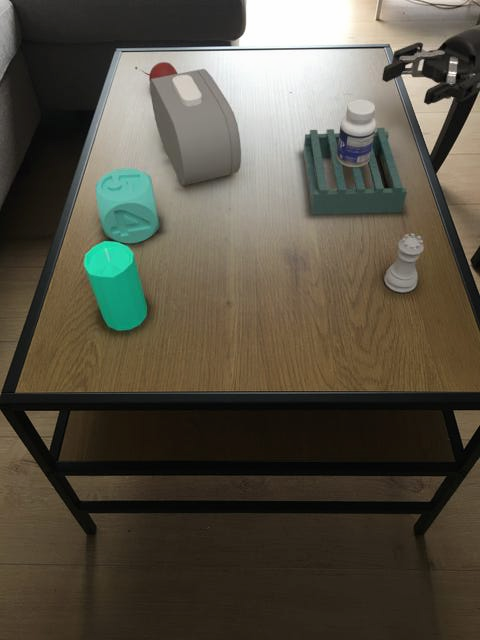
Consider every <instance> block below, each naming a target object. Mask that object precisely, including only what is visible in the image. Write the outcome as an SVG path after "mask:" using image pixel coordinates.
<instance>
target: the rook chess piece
mask: <svg viewBox="0 0 480 640" xmlns="http://www.w3.org/2000/svg"><path fill="white" fill-rule="evenodd" d="M415 235H416V234H415V233H410V235H409V233H407V234H404V236H403V237H402V238H401V239H399V241H398V243H397V247H398V248H399V249H398V250H397V257H396V260H395V262H393V263H392V265H390V266H389V267H388V268H387V269H386V271H385V274H384V279H383V281H384V282H385V285H386V286H387V287H388V288H389V289H390V290H391V291H393V292H396V293H399V294H400V293H401V294H403V293H408V292H409V293H410V292H411V291H412V290H415V288H416V286H417V284H418V279H419V276H418V275H419V273H418V272H417V268H416V266H417V265H416V264H417V261H418V259H419V258H420V254H421V253H423V251H424V250H425V245H424V242H423V241H424V240H423V239H422V236H420V235H417V236H415Z"/></svg>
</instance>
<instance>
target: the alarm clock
mask: <svg viewBox="0 0 480 640" xmlns="http://www.w3.org/2000/svg"><path fill="white" fill-rule="evenodd" d="M149 91H150V99H151V104H152V110H153V115H154V120H155V124H156V128H157V131H158V135H159V138H160V141H161V143H162V146H163V148H164V151H165V152H166V155H167V157H168V159H169V161H170V164H171V165H172V168H173V170H174V172H175V174H176V177H177V178H178V180H179V182H180V184H181V185H182V186H187V185H192V184H197V183H200V182H204V181H208V180H212V179H216V178H222V177H225V176H229V175H233V174H237V173H238V172H239V171H240V168H241V165H242V146H241V137H240V130H239V126H238V122H237V119H236V116H235V112H234V110H233V109H232V107H231V105H230V103H229V102H228V99H227V98H226V97H225V95H224V94H223V92H222V90H221V89H220V87H219V86H218V84H217V83H216V81H215V79H214V78H213V76H212V75H211V74H210V73H209V72H208V70H206V69H205V68H201V69H195V70H190V71H184V72H181V73H178V74H174V75H169V76H164V77H159V78H154V79H151V80H150V81H149Z"/></svg>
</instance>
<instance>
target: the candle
mask: <svg viewBox="0 0 480 640" xmlns="http://www.w3.org/2000/svg"><path fill="white" fill-rule="evenodd" d="M83 266H84V269H85V273H86V275H87V278H88V281H89V284H90V286H91V289H92V291H93V294H94V297H95V299H96V302H97V305H98V308H99V311H100V313H101V316H102V318H103V320H104V323H105V324H106V326H107V327H108V328H110V329H113V330H115V331H119V332H120V331H130V330H132V329H135V328H136V327H138V326H141V324H142V323H143V322H144V321H145V319H146V318H147V315H148V306H147V301H146V298H145V294H144V290H143V286H142V282H141V278H140V273H139V270H138V265H137V262H136V257H135V254H134V252H133V251H132V249H131V248H130V247H129V246H127V245H125V244H124V243H122V242H118V241H111V240H104V241H102V242H100V243H98V244H96V245H94V246H92V247H91V248H90V250H89V251H88V252H86V253H85V255H84V260H83Z"/></svg>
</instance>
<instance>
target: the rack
mask: <svg viewBox="0 0 480 640" xmlns="http://www.w3.org/2000/svg"><path fill="white" fill-rule="evenodd" d="M339 134H340V132H338V133H335V129H334V128H328V129H326V133H319V132H318V129H309V133H308V134H307V133H305V134H304V142H303V161H304V169H305V176H306V182H307V187H308V188H307V190H308V196H309V203H310V210H311V211H310V212H311V215H312V216H317V215H318V216H319V215H321V216H322V215H324V216H325V215H355V214H357V215H359V214H362V215H363V214H390V213H392V214H396V213H402V212H403V209H404V204H405V201H406V197H407V195H408V194H407V193H408V190H407V188H406V187H403V184H402V181H401V177H400V175H399V171H398V168H397V165H396V161H395V158H394V154H393V153H392V149H391V146H390V143H389V132H388V131H386V129H385V127H376V129H375V134H374V139H373V144H372V150H371V156H370V160H369V162H368V163H367V166H368V169H369V174H370V177H371V182H372V185H373V188H366V187H365V183H364V182H365V181H364V179H363V175H362V170H361V167H355V168H354V167H350V170H351V175H352V179H353V183H354V188H353V189H350V188H349V189H347V186H346V185H347V184H346V181H345V176H344V172H343V167H342V166H343V165H342V164H341V163H340V162H339V161H338V159H337V149H338V141H339ZM376 156H377V157H379V162H380V165H381V167H382V168H381V169H382V171H383V175H384V178H385V181H386V186H387V188H385V186H384V183H383V181H382V176H381V173H380V170H379V166H378V163H377V159H376ZM323 158H330V161H331V165H332V170H333V174H334V175H333V176H334V180H335V181H334V182H335V185H336V189H328V184H327V179H326V173H325V167H324V161H323Z"/></svg>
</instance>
